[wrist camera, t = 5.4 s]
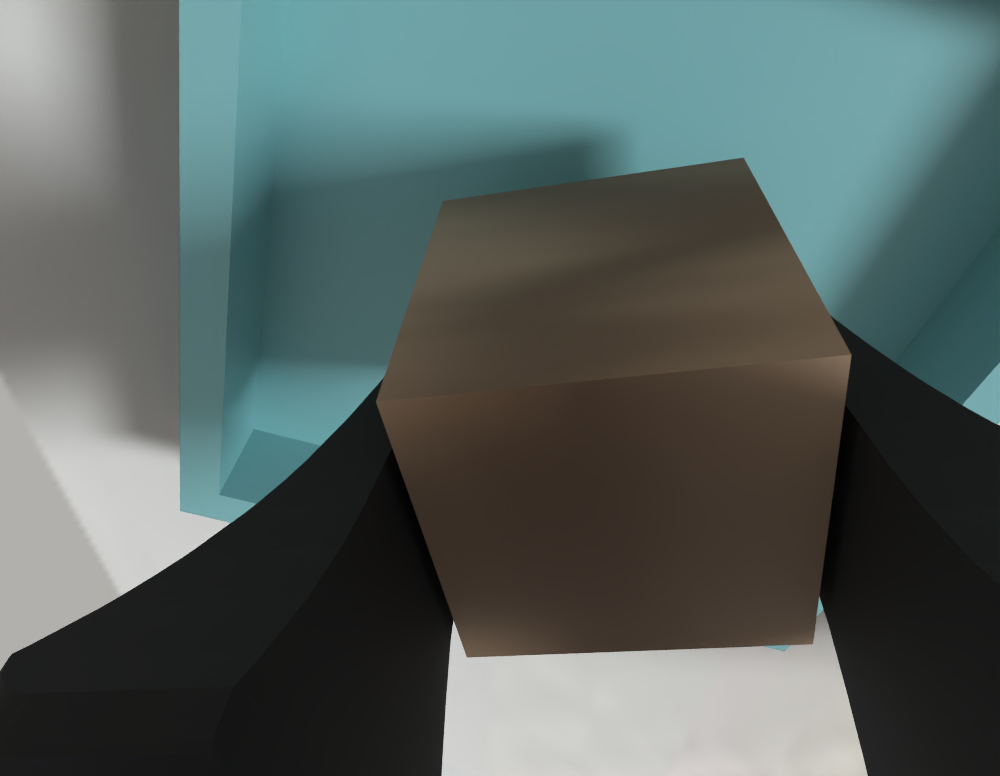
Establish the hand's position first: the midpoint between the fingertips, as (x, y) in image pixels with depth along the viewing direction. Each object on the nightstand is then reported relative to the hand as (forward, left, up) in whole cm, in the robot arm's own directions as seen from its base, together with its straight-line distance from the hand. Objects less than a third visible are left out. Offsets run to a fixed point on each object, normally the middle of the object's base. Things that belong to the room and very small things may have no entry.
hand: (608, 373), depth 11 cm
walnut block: (0, 0, -2) cm, 2 cm away
